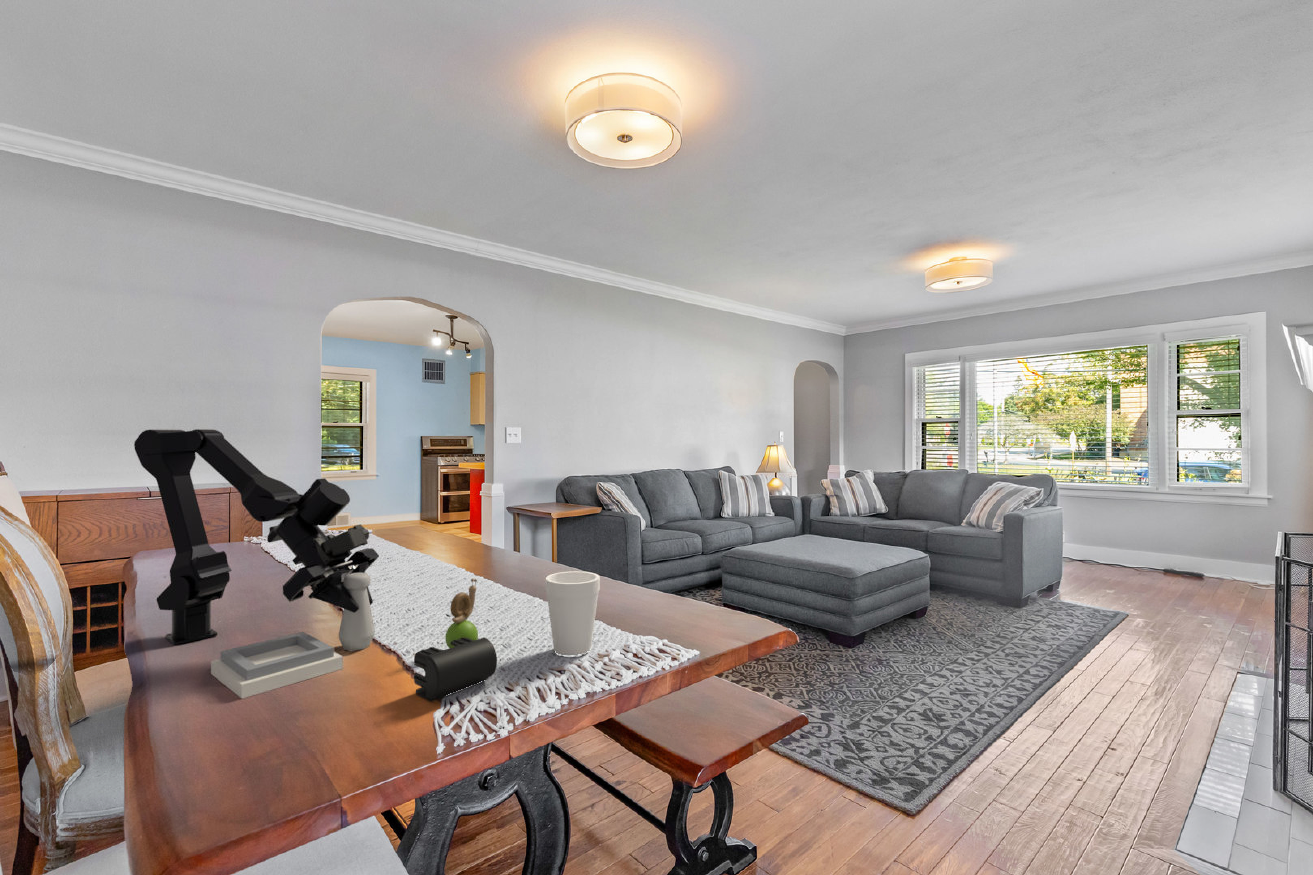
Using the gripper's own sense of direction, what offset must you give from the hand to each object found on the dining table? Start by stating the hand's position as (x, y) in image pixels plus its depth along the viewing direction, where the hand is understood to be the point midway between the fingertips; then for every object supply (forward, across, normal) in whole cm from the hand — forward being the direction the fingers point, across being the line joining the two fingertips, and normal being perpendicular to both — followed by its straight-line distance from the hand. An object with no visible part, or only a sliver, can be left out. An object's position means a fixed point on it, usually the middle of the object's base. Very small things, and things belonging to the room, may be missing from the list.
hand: (364, 607), depth 105 cm
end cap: (+22, -14, -12) cm, 29 cm away
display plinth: (0, -12, +10) cm, 15 cm away
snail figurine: (+18, +2, -8) cm, 20 cm away
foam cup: (+31, +4, -21) cm, 38 cm away
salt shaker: (+4, 0, +6) cm, 7 cm away
